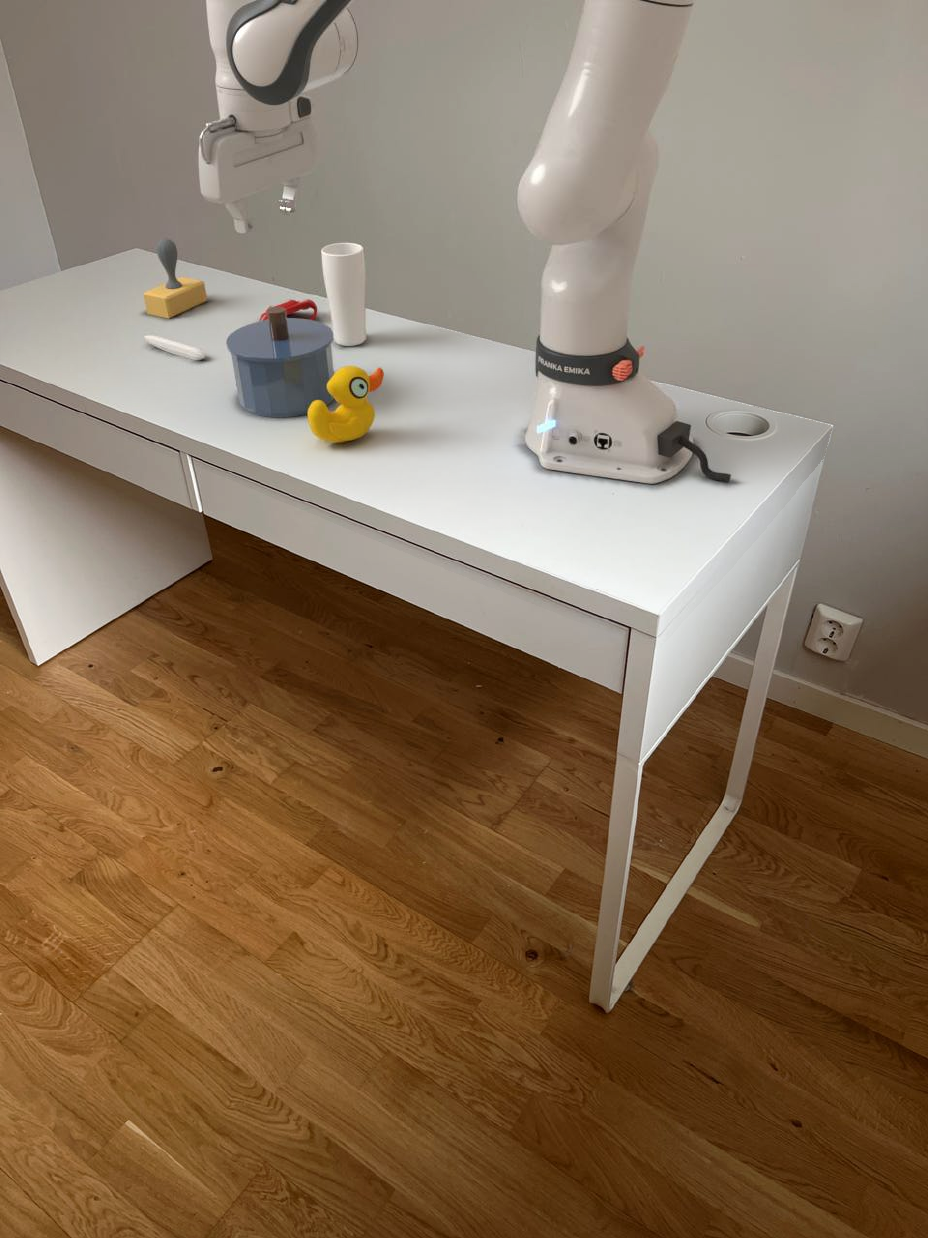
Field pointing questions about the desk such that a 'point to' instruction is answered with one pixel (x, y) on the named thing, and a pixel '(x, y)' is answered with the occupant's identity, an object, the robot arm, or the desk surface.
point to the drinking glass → (346, 291)
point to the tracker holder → (293, 307)
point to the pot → (283, 384)
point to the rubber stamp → (173, 287)
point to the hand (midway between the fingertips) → (267, 222)
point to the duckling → (346, 406)
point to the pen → (176, 347)
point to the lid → (279, 338)
